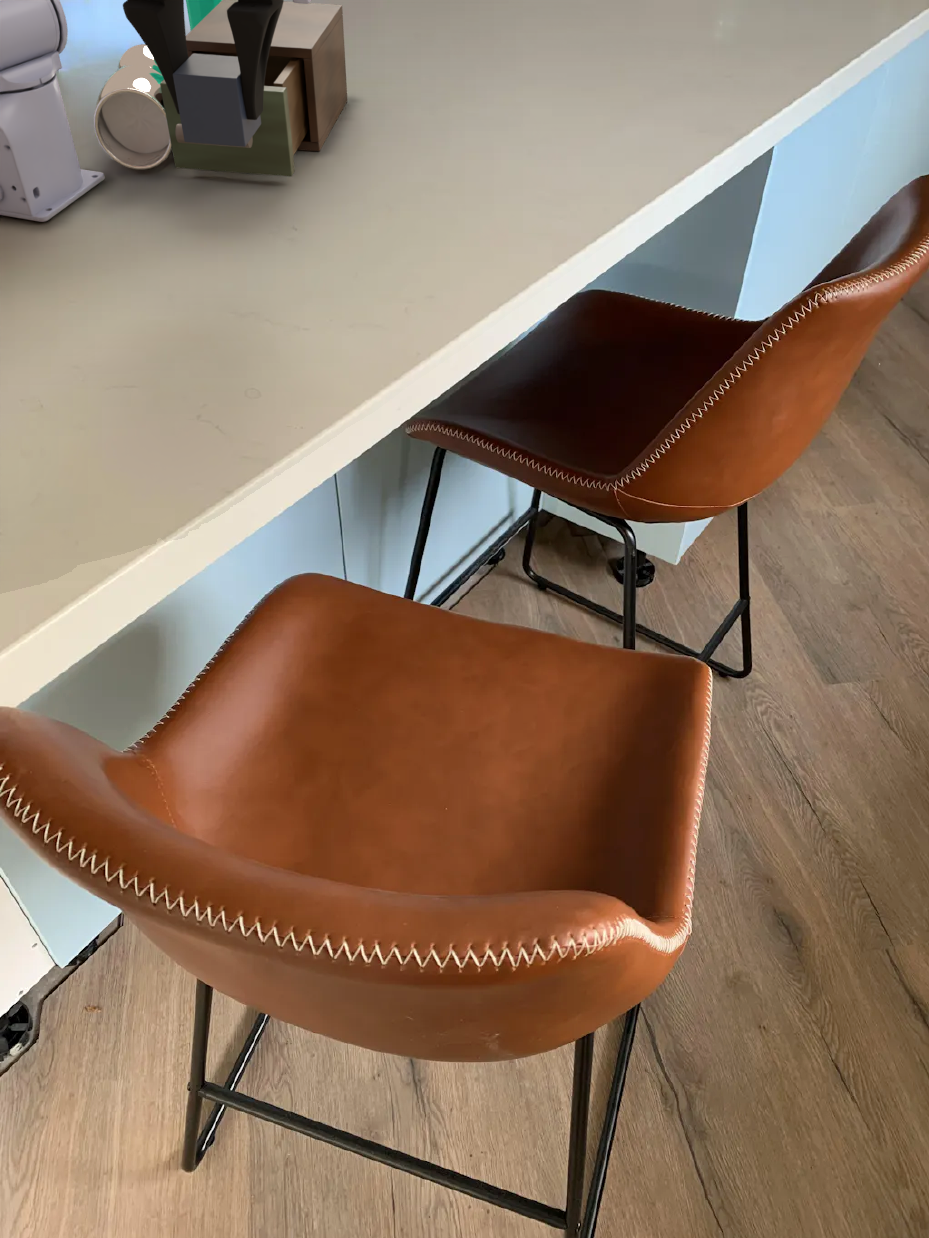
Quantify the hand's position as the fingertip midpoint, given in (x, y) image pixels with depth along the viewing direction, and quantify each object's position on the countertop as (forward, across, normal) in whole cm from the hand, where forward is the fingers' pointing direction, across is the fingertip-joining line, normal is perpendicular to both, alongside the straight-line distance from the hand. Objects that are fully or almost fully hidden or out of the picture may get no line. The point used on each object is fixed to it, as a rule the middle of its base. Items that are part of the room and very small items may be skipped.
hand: (220, 112), depth 67 cm
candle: (+11, -14, +42) cm, 46 cm away
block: (+1, 0, 0) cm, 1 cm away
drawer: (+9, -4, +17) cm, 20 cm away
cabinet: (+10, -4, +28) cm, 30 cm away
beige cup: (+7, -16, +28) cm, 33 cm away
